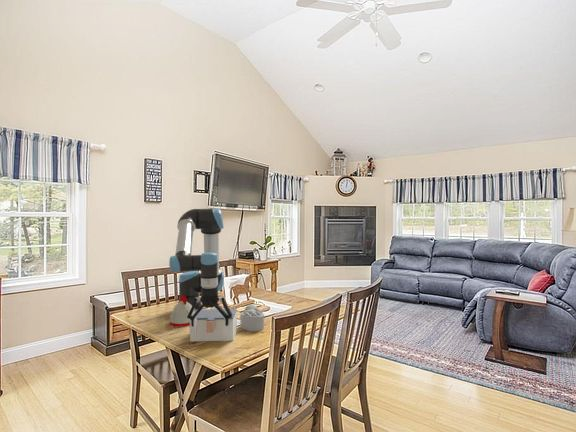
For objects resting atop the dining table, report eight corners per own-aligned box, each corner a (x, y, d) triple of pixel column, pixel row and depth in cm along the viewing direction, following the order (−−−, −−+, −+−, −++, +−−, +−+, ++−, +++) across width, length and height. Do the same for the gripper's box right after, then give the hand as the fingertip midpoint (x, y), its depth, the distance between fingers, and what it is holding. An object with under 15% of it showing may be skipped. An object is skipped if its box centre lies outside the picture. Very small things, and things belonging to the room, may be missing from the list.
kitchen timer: (175, 328, 179) (175, 299, 179) (166, 322, 190) (165, 295, 190) (200, 322, 188) (200, 295, 188) (190, 317, 199) (189, 291, 198)
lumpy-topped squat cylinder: (254, 322, 188) (254, 306, 188) (268, 328, 178) (268, 311, 178) (238, 326, 181) (237, 310, 181) (252, 333, 171) (252, 315, 171)
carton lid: (197, 320, 175) (197, 309, 175) (236, 319, 176) (236, 308, 175) (187, 332, 157) (187, 320, 157) (231, 332, 158) (231, 320, 157)
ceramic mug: (250, 323, 187) (250, 308, 187) (244, 318, 194) (244, 305, 194) (267, 320, 192) (267, 306, 192) (261, 316, 199) (261, 302, 199)
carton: (197, 330, 175) (197, 311, 175) (237, 330, 176) (236, 310, 175) (190, 341, 161) (189, 320, 161) (233, 340, 162) (232, 319, 161)
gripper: (179, 289, 154) (180, 336, 154) (235, 288, 154) (236, 335, 155) (184, 285, 161) (185, 330, 162) (237, 284, 162) (238, 329, 162)
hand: (210, 333), depth 158 cm, fingers open, 13 cm apart
